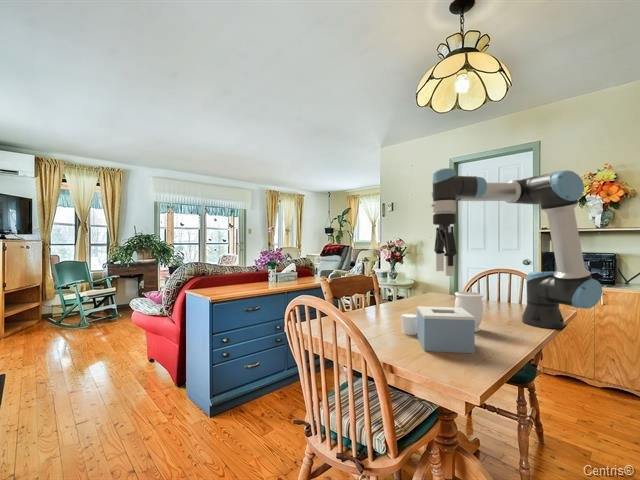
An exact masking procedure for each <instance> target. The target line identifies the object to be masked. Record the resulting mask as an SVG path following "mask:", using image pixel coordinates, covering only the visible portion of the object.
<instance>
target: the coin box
mask: <svg viewBox="0 0 640 480" xmlns="http://www.w3.org/2000/svg"><path fill="white" fill-rule="evenodd" d="M416 309H417V310H416V312H417V313H416V315H417V334H416V338H417V340H418V342H419V344H420V346H421V348H422V349H423V351H424V352H439V353H456V354H457V353H459V354H475V353H476V352H475V349H476V348H475V347H476V345H475V344H476V343H475V341H476V338H475V336H476V335H475V334H476V332H475V317H474V316H472V315H471V314H470V313H468V312H467V311H466V310H464V309H463V308H459V307H455V306H454V307H453V306H452V307H450V306H424V305H423V306H419V305H418V306H417V307H416Z"/></svg>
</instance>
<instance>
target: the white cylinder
mask: <svg viewBox="0 0 640 480" xmlns="http://www.w3.org/2000/svg"><path fill="white" fill-rule="evenodd" d="M400 321H401V332H402V334H403V335H409V336H415V335H417V314H415V313H402V314H400Z"/></svg>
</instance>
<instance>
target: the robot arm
mask: <svg viewBox="0 0 640 480" xmlns="http://www.w3.org/2000/svg"><path fill="white" fill-rule="evenodd" d="M584 192H585V184H584V181H583V179H582V178H581V176H580V175H579V174H578V173H576V172H574V171H572V170H568V169H567V170H558V171H554V172H549V173H545V174H540V175H535V176H530V177H527V178H523V179H518V180H517V179H516V180H509V181H507V182H487V180H486V179H485V178H484V177H483V176H476V175H474V176H472V175H471V176H470V175H457V172H456V169H455V168H449V167H448V168H440V169H437V170H435V171H433V174H432V190H431V196H432V204H431V205H430V206H431V208H432V212H433V213H434V214H433V215H432V224H433V225H435V226H438V227H436V228H435V230H436V231H435V240H434V242H435V243H434V249H433V250H434V251H433V252H435V271H436V272H444V276H446V277H450V276H451V277H455V255H457V253H458V252H457V247H456V246H457V245H456V239H455V232H454V231H455V230H454V226H453V225H455V224H456V223H457V214H456V212H457V202H505V203H508V204H520V205H521V204H522V205H539V206H540V209H541V210H542V211H543V212H545V213H546V216H547V221H548V226H549V232H550V238H551V242H552V243H551V244H552V247H553V248H552V249H553V254H554V259H555V260H554V261H555V264H556V271H537V272H536V271H533V272H529V273H528V274H527V275H526V306H525V309H524V311H523V312H522V316H521V317H522V318H521V322H523V323H524V324H526V325H530V326H532V327H537V328H542V329H543V328H545V329H563V328H564V327H565V321H564V320H565V319H564V318H563V315H562V311H561V308H560V305H563V306H569V307H573V308H576V309H584V310H585V309H588V310H589V309H592V308H594V307H595V306H597V305H598V303H599V302H600V300H601V299H602V296H603V287H602V286H603V285H602V284H601V283H600V281H599V280H596V279H594V278H593V276H592V273H591V271H589V270H588V269H586V267H585V263H584V257H583V251H582V244H581V239H580V234H579V229H578V228H579V227H578V221H577V218H576V212H575V208H576V207H577V206H578V205H579V199H580V198H582V197H583V195H584ZM451 225H452V226H451Z"/></svg>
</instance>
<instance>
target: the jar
mask: <svg viewBox="0 0 640 480" xmlns="http://www.w3.org/2000/svg"><path fill="white" fill-rule="evenodd" d="M454 295H455V296H456V297H455V299H454V300H455V301H454V307H459V308H463V309H464V310H466V311H467V312H468V313H470V314H471V315H472V316H474V317H475V333H476V332H479V331H481V327H479V326H480V325H481V323H482V319H483V313H484V304H483V300H482V298H484V294H483V293H481V292H476V291H475V292H474V291H473V292H472V291H456V292H454Z"/></svg>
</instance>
